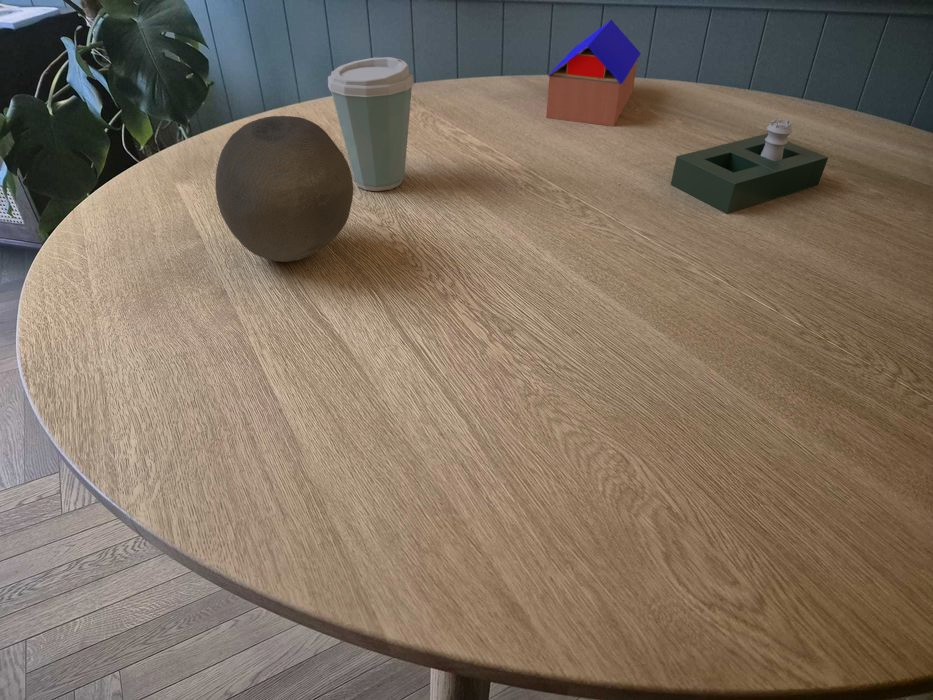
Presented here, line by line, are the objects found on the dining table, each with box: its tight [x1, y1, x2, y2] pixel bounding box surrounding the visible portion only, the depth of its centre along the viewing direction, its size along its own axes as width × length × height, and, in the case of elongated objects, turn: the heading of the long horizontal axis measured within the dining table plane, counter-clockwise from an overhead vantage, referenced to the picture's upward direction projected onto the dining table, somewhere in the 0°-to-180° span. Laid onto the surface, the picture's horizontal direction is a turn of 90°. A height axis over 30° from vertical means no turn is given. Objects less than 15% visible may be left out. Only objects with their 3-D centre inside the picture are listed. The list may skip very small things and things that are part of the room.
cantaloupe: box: [215, 115, 354, 263], centre depth 69 cm, size 14×14×15 cm
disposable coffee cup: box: [327, 56, 415, 192], centre depth 85 cm, size 11×11×15 cm
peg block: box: [670, 132, 829, 214], centre depth 88 cm, size 18×10×4 cm, turn 120°
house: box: [545, 19, 641, 127], centre depth 112 cm, size 12×20×12 cm, turn 160°
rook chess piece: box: [760, 118, 794, 161], centre depth 88 cm, size 4×4×8 cm
